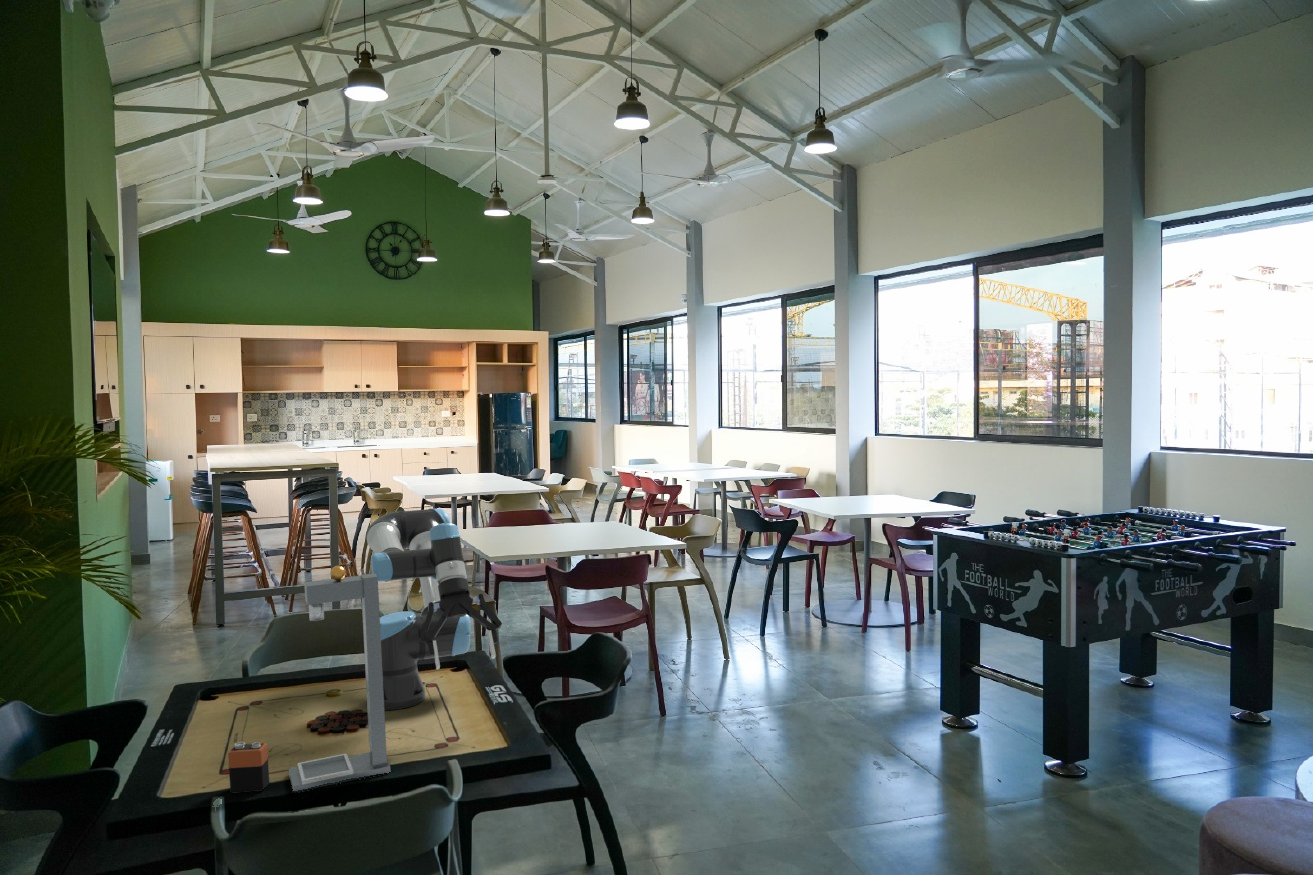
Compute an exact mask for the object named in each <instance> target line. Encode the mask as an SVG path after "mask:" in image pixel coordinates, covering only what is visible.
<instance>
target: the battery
mask: <svg viewBox="0 0 1313 875" xmlns="http://www.w3.org/2000/svg"><path fill="white" fill-rule="evenodd" d="M268 752H269V751H268V744H267V743H266V742H263V743H262V742H259V741H255V742H253V743H246V742H244V741H239V742H235V744H233V747H232V748H231V749H230V750H229V751H228V753H227V755H228V756H227V757H228V758H227V759H228V771H229V772H228V773H229V774H228V775H229V788H230V790H229V792H230V793H231V792H244V791H253V790H254V791H255V790H263V789H264V788H265V787H266V788H267V786H268V785H269V784H270V772H269V756H268V755H269V754H268ZM266 788H265V789H266ZM265 789H264V790H265ZM264 790H263V791H264Z"/></svg>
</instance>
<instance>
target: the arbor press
mask: <svg viewBox="0 0 1313 875" xmlns="http://www.w3.org/2000/svg"><path fill="white" fill-rule="evenodd" d="M346 572H347V571H346V569H345V568H344V567H343V566H341V565H335V566H333V567H332V568H331V569H330V573H329V575H330V579H329V578H327V579H320V580H319V579H318V580H313V581H312V580H311V581H304V582H303V583H304V587H303V588H304V599H305V600H304V601H305V602H306V605H307V606H308V613H309V615H308V616H309V617H308V618H309V621H310V622H319V621H322V620H324V619H325V608H324V604H325V603H326V604H327V603H334V602H335V603H336V602H342V601H343V602H344V601H349V600H356V599H361V607H362V608H361V609H362V628H363V629H362V630H363V646H364V647H363V649H364V665H365V666H364V668H365V688H366V689H365V690H366V706H367V707H366V708H367V710H366V711H367V728H368V729H367V730H368V745H369V746H368V747H369V748H368V749H369V750H368V751H369V752H364V753H360V754H354V755H349V756H348V754H347V753H341V754H336V755H332V756H327V757H323V758H322V757H320V758H316V759H310V760H307V761H302V762H297V766H293V767H290V768H288V777H289V780H290V784H291V785H292V786H291V785H290V786H291V789H293V790H292V792H293V791H298V790H303V789H308V788H311V787H315V786H319V785H323V784H327V783H335V782H339V781H342V780H346V779H351V778H359V777H364V776H370V775H376V774H383V775H385V774H384V773H387V774H390V773H389V772H391V771H392V770H391V765H390V762H389V761H388V759H387V758H388V757H387V739H386V738H387V737H386V736H387V735H386V718H385V717H386V716H385V710H384V693H383V673H382V653H381V633H380V616H381V615H380V601H379V600H380V598H379V597H380V595H379V582H378V576H377V575H376V574H375V573H374V574H372V573H367V574H360V575H355V576H354V575H353V576H347V577H346V574H347V573H346Z"/></svg>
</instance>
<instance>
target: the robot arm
mask: <svg viewBox="0 0 1313 875" xmlns="http://www.w3.org/2000/svg"><path fill="white" fill-rule="evenodd" d="M366 541H367V545H368V547H369V549H371V550H372V551H373V552H374V553H373V554H372V555H371V557H370V567H371V568H370V569H371V574H374V573H375V574H376V575H377V576H378V583H379V582H392V581H400V580H409V579H419V582H420V587H421V594H422V595H421V596H422V600H423V605H424V608H423V609H422V610H421V613H420V615H419V616H416V613H415V612H414V611H410V610H407V611H404V610H403V611H397V612H392V613H388V614H386V615H383V616H382V615H381V617H380V633H381V653H382V673H383V693H384V711H394V710H400V709H407V708H411V707H414V706H416V705H418V704H421V703H422V702H423V701H425V699H426V688H425V685H424V683H423V681H422V678H421V675H420V673H419V670H418V661H420V660H428V659H434V663H435V664H434V665H435V669H436V670H440V667H441V664H440V658H442V657H450V656H452V657H455V656H457V655H464V654H465V653H468V650H470V644H471V618H472V619H473V620H474V621H476V622H477V623H478V624H479V625H480V626H482V627H483V628H485V629H486V630H487V633H486V635H487V640H488V645H489V651H490V656H491V657H490V658H491V660H493V659H495V658H496V656H497V654H496V649H495V645H497V643H498V637H497V631H498V630H499V629H501V627H502V624H503V622H502V621H501V619H499V617H498V616H497V615H496V613H495V612H494V611H493V609H491V607H490V606H489V605H488V603H487V602H486V600H485V596H484V595H483V593H480V594H478V595H477V596H473V597H472V595H471V592H470V587H469V581H468V578H467V577H468V576H467V570H466V565H465V561H464V554H463V548H462V542H461V534H460V532H459V527H458V526H457V524H456V523H455V524H454V523H451V520H450V518H449V515H448V513H447V511H446V510H444V509H443V508H433V507H431V508H428V509H427V508H426V509H415V510H413V509H412V510H403V511H402V510H401V511H399V510H398V511H392V512H387V513H385V514H383V515H381V516H379V517H378V518H376V519H375V520H374V521H373V522H372V523H371V524H370V525H369V527H368V528H367V532H366ZM408 549H409V550H408ZM473 603H475V604H476V605H477V606H479V607H480V609H481V610H482V612H484V614H485V615H486V616H487V617H488V619H489V620H490V621H489V620H488V619H487V618H485V617H484V616H483V615H481V614H480V613H479V612H478V611H477V610H476V609H475V608H474V607H473V606H472V605H473ZM491 622H492V623H491Z"/></svg>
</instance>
